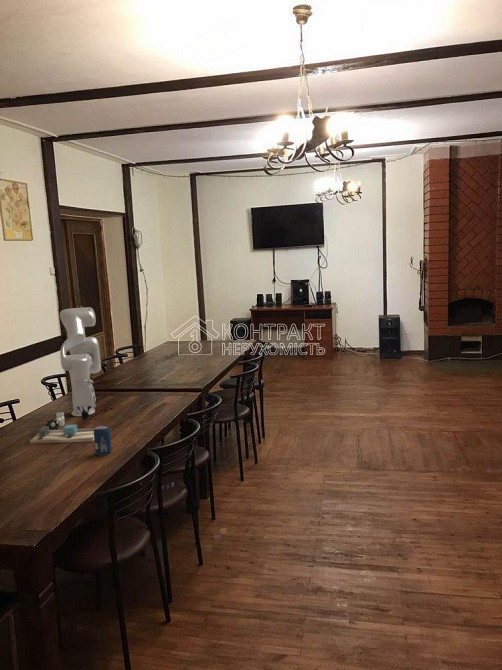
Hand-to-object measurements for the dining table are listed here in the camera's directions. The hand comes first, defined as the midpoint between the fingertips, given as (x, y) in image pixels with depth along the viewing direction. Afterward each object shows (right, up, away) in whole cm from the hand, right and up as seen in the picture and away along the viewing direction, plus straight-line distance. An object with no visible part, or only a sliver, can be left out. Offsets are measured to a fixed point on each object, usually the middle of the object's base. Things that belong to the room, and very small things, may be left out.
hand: (85, 419), depth 261 cm
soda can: (+15, -12, -23) cm, 30 cm away
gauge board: (-9, -9, -1) cm, 13 cm away
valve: (-20, -7, +17) cm, 27 cm away
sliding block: (-8, -7, -1) cm, 10 cm away
